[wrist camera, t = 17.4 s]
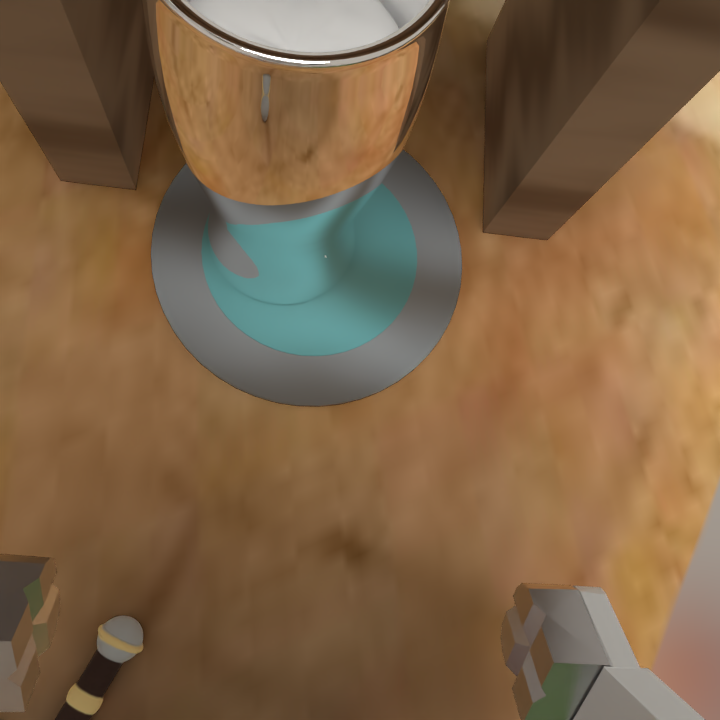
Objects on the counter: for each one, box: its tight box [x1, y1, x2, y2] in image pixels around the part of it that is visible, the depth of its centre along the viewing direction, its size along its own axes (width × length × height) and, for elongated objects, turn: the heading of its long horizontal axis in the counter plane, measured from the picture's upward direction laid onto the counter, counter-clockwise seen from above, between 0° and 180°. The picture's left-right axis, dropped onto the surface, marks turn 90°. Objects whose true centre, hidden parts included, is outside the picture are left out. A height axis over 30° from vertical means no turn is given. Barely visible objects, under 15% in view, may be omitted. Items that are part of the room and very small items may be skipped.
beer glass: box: [141, 0, 450, 305], centre depth 20 cm, size 7×7×15 cm
